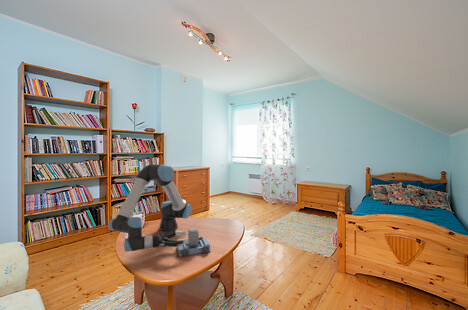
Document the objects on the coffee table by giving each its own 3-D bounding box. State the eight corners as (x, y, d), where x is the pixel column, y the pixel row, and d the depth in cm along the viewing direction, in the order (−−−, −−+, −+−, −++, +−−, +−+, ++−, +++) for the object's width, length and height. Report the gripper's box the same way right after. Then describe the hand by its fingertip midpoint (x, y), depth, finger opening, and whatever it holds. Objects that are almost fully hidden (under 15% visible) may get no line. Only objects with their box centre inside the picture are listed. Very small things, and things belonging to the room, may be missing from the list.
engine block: (188, 246, 142) (188, 228, 142) (197, 245, 144) (197, 227, 144) (189, 250, 137) (189, 231, 136) (198, 248, 139) (198, 230, 138)
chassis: (177, 246, 145) (177, 240, 145) (205, 242, 152) (205, 236, 151) (179, 257, 130) (179, 250, 129) (211, 252, 136) (211, 245, 136)
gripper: (152, 239, 143) (184, 235, 150) (152, 256, 120) (189, 250, 127) (152, 228, 143) (184, 224, 150) (151, 243, 119) (189, 238, 127)
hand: (186, 236), depth 139 cm, fingers open, 13 cm apart
